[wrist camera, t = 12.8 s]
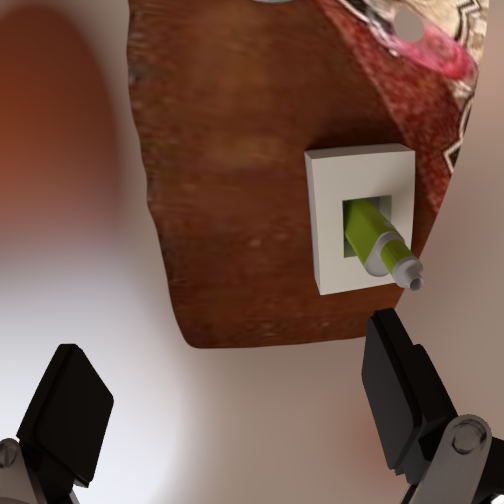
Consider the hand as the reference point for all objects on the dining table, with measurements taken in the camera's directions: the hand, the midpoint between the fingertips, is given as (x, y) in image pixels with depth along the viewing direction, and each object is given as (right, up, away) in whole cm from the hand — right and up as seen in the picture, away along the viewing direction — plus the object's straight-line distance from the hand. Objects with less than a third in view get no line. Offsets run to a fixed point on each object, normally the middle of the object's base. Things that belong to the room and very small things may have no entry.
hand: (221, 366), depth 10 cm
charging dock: (+16, +9, +37) cm, 41 cm away
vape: (+16, +9, +36) cm, 40 cm away
